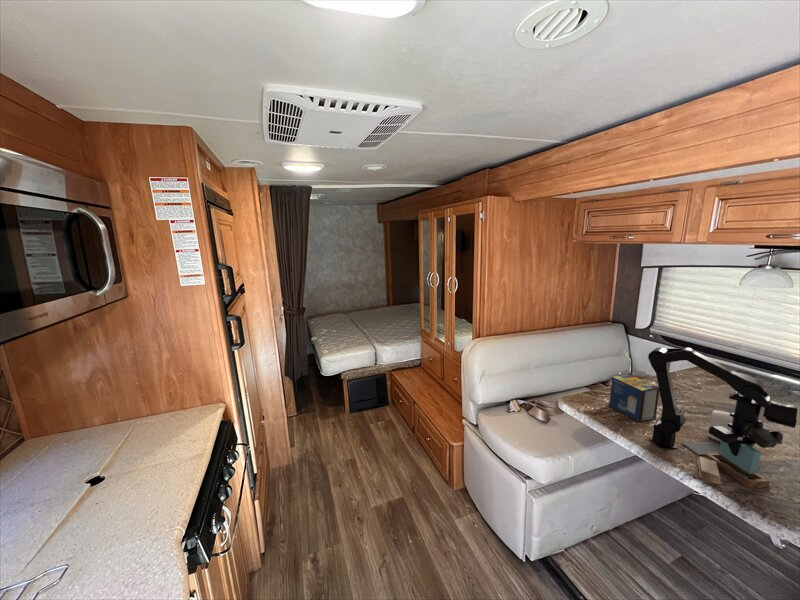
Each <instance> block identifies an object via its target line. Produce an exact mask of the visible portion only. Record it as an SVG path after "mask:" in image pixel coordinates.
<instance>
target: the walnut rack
mask: <svg viewBox="0 0 800 600" xmlns="http://www.w3.org/2000/svg"><path fill="white" fill-rule="evenodd" d="M704 458H706V459H709V460H713V461H716V463H717V467H718V469H719V470H722V471H723V472H724V473H726V474H727V475H729V476H730V477H732V478H733V479H735V480H737V481H738V482H739V483H741V484H742V485H744V486H745V487H747V488H758V487H759V488H760V487H761V488H764V487H766V488H767V487H769V486H770V483H771V482H770V480H769V479H767V478H766V477H764V476H762V475H761V474H759V473H758V472H757V473H752V474H749V473H748V472H746V471H745V470H743V469H742V468H740V467H739V466H737V465H735V464H734V463H732V462H731V461H729V460H728V459H726V458H724V457H723V456H721V455H720V454H719V453H706V454H705V455H704ZM722 460H723V461H722ZM725 462H727V464H730V465H731V466H733V467H734V468H735V469H737V470H739V472H738V471H736V470H735V469H734V468H732V467H731V466H730V465H727V464H726V463H725ZM740 471H741V472H742V473H743V474H745V475H747V476H748V477H750V478H751V479H749V478H747V477H746V476H744V475H743V474H741V473H740Z"/></svg>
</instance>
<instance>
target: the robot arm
mask: <svg viewBox="0 0 800 600" xmlns="http://www.w3.org/2000/svg"><path fill="white" fill-rule="evenodd" d="M647 355H648V356H647V358H648V362H649V363H650V365H651V367H652V369H653V371H654V372H655V375H656V380H657V386H658V387H659V396H660V400H661V401H660V402H661V405H662V410H661V417H659V418H658V419H657V421H656V422H655V423H654V425H653V432H652V437H648V440H649V441H650V442H652V443H654V444H655V445H656V446H657V447H658V448H660V450H661V449H662V450H665V449H666V450H668V449H670V450H671V449H673V450H674V449H678V446H677V445H675V444H676V443H675V442H676V438H677V437H676V433H678V432H680V431H681V429H682V427H683V426H684V425H685V423H686V420H687V419H686V418H685V410H683V409H679V408H678V405H677V403H676V398H675V393H674V388H673V382H672V377H671V374H670V373H671V372H670V368H671V364H672V363H675V362H681V361H687V362H689V363H691V364H692V365H694V366H696V367H698V368H699V369H702V370H704V371H706V372H707V373H708V374H711V375H713V376H714V377H717V378H718V379H720V380H722V381H723V382H725V383H726V384H728V385H729V387H731V388H732V389H733V390H734V391H735V392H732V393H729V396H728V399H730V400H733V401H735V404H734V405H735V406H734V409H733V412H729V413H730V416H731V417H733V420H732V423H730V424H728V427H730V428H732V430H728V429H726V428H724V427H722V426H712V427H709V426H708V431H709V433H710V434H711V435H713V436H715V437H716V438H718V439H720V440H721V441H723V442H726V443H727V444H728V446H729V448H730V450H731V452H732V454H733V455H734V456H737V454H738V452H739V449H740V446H741V444H748V445H749V446H751V447H753V448H754V446H755V445H757V446H758V447H760V448H762V449H767V448H770V449H771V448H772V449H774V448H775V447H776V446H777V445H782V444H783V440H784V439H783V438H784V434H783V433H782V432H780V431H779V430H773V429H770V428H769V427H766V426H764V423H763V421H762V420H760V416H761V410H762V408H763V413H762V417H764V418H765V420H766V421H767V422H771V423H774V424H778V425H781V426H785V427H789V428H791V429H795V428H796V425H797V422H798V421H797V420H798V419H797V416H798V415H797V414H798V406H795V405H792V404H786V403H785V404H784V403H781V402H777V401H773V398H772V397H771V396H770V395H769V393H768V392H767V391H766V386H765V383H764V382H763V381H762V380H760V379H758V378H756V377H753V376H751V375H748V374H746V373H741V372H738V371H735V370H733V369H730V368H729V367H727V366H724V365H723V364H721V363H719V362H717V361H715V360H713V359H711V358H709V357H708V356H706V355H704V354H702V353H699V351H698V352H697V351H696V350H695V349H693V348H691V347H683V348H677V347H675V348H671V347H670V348H665V347H663V346H661V347H655V348H654V349H652V350H651V351H650V352H649V353H648V354H647Z"/></svg>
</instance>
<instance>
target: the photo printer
mask: <svg viewBox="0 0 800 600" xmlns="http://www.w3.org/2000/svg"><path fill="white" fill-rule="evenodd" d="M730 413H731V412H727V411H722V410H713V411H712V413H710V418H709V426H708V428H709V427H712V426H722V427H724V428H726V429H728V430H732V428H730V427H728V424H730V423H732V420H733V417H731V416H730ZM707 436H708V438H711V439H713V440H716V441H718V442H720V443H721V440H720V439H718V438H716V437H715V436H713V435H711V434H710V433H709V430H708V431H707Z"/></svg>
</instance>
